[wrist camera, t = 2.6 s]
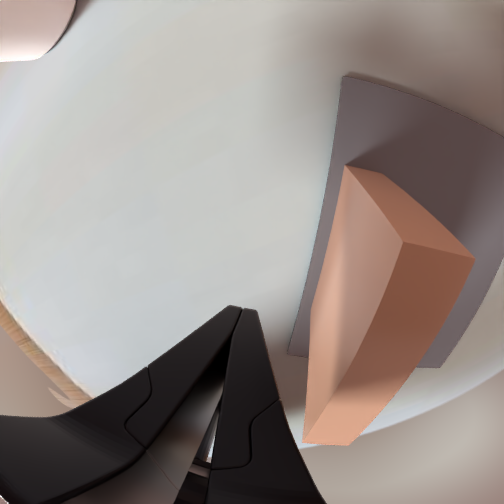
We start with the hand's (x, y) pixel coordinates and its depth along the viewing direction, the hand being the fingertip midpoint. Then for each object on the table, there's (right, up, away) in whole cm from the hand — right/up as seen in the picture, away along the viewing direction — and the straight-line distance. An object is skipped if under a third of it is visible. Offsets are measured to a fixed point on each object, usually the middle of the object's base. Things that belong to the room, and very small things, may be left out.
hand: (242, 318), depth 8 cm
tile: (+5, +2, +5) cm, 7 cm away
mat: (+9, +1, +5) cm, 11 cm away
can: (-14, +18, +1) cm, 23 cm away
